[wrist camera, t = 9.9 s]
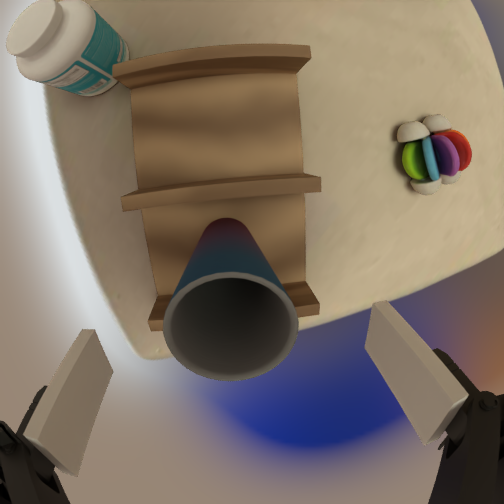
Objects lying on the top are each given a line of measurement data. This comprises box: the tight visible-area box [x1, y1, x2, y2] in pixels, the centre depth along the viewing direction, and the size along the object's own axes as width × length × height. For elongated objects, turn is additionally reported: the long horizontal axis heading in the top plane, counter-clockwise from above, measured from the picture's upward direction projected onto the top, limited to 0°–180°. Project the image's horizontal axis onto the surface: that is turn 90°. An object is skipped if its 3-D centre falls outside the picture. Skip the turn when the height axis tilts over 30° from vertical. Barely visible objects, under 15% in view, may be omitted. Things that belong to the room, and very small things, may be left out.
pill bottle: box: [6, 0, 129, 96], centre depth 14 cm, size 8×7×14 cm
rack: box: [112, 44, 321, 331], centre depth 24 cm, size 24×16×6 cm, turn 4°
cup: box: [163, 218, 298, 381], centre depth 20 cm, size 7×7×15 cm
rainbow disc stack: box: [397, 114, 472, 195], centre depth 24 cm, size 8×10×7 cm
